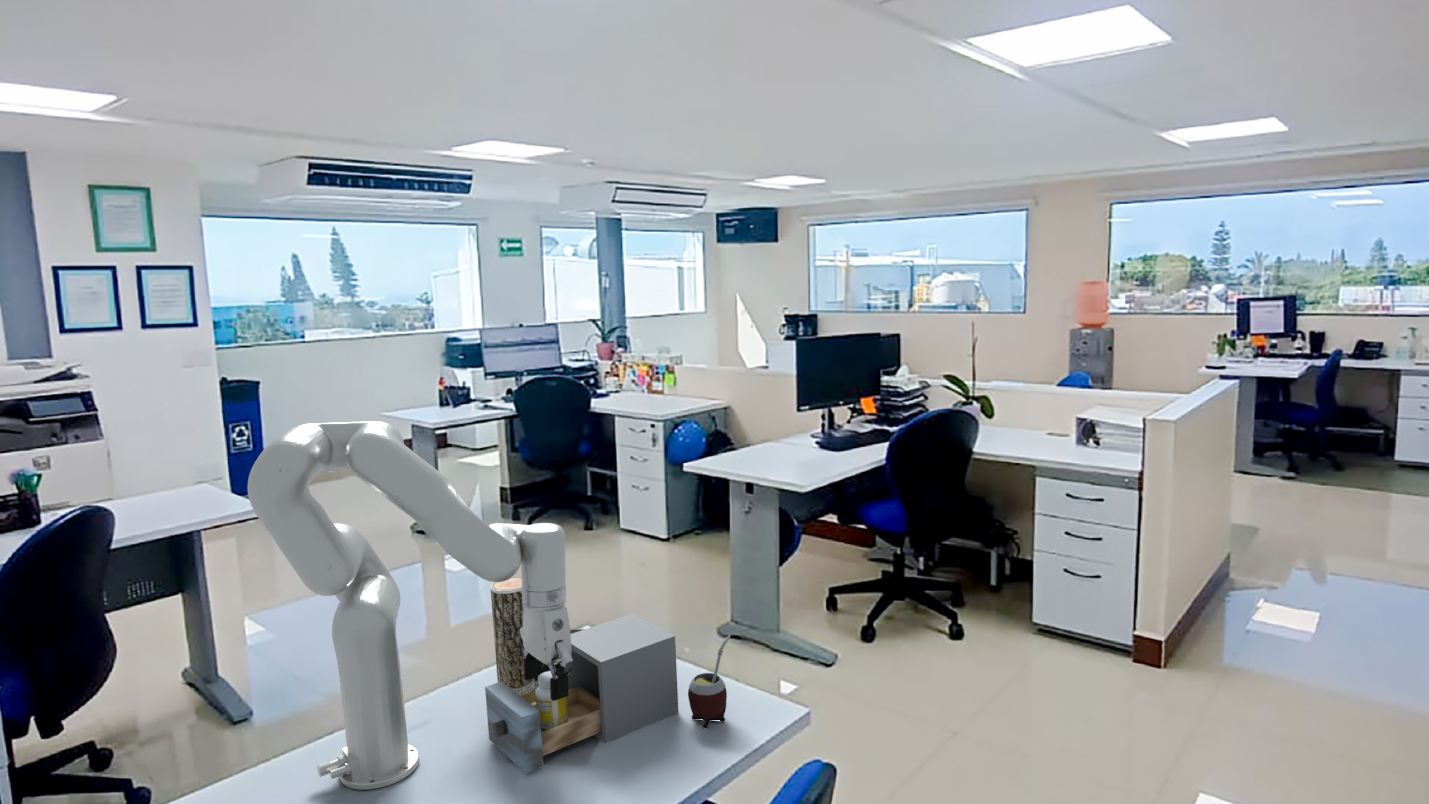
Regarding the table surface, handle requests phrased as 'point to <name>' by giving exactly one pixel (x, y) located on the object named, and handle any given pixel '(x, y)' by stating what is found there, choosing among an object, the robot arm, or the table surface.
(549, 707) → the supplement bottle
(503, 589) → the brown bark cylinder
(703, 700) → the mate gourd
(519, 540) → the robot arm
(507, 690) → the drawer
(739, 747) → the table surface
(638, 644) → the cabinet
